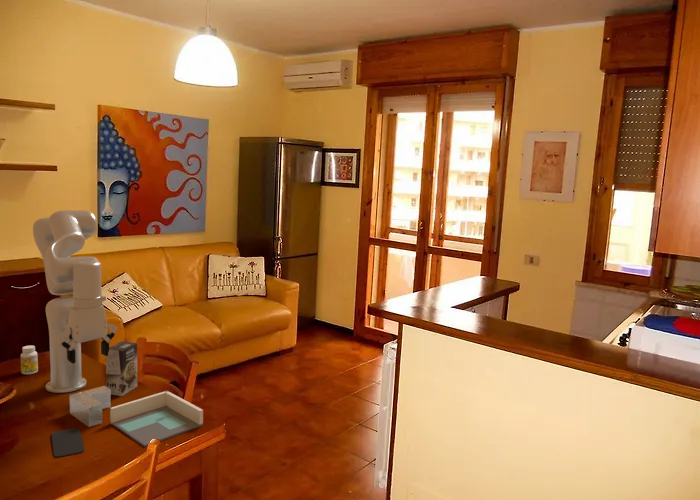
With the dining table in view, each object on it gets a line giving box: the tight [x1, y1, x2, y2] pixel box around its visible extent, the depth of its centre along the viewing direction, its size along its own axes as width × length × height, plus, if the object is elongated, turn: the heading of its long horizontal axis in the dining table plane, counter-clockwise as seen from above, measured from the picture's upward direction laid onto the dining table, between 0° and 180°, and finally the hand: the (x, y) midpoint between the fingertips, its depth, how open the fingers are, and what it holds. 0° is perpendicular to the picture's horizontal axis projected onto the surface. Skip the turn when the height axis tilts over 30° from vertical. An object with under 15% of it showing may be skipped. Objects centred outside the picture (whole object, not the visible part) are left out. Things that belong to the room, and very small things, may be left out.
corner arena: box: [109, 390, 204, 448], centre depth 164 cm, size 20×19×5 cm
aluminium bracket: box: [69, 385, 112, 428], centre depth 168 cm, size 13×11×6 cm
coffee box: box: [105, 341, 138, 397], centre depth 186 cm, size 9×6×16 cm
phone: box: [50, 427, 85, 459], centre depth 151 cm, size 7×1×15 cm
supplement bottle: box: [20, 344, 39, 375], centre depth 199 cm, size 5×5×10 cm
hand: (88, 358), depth 161 cm, fingers open, 9 cm apart
